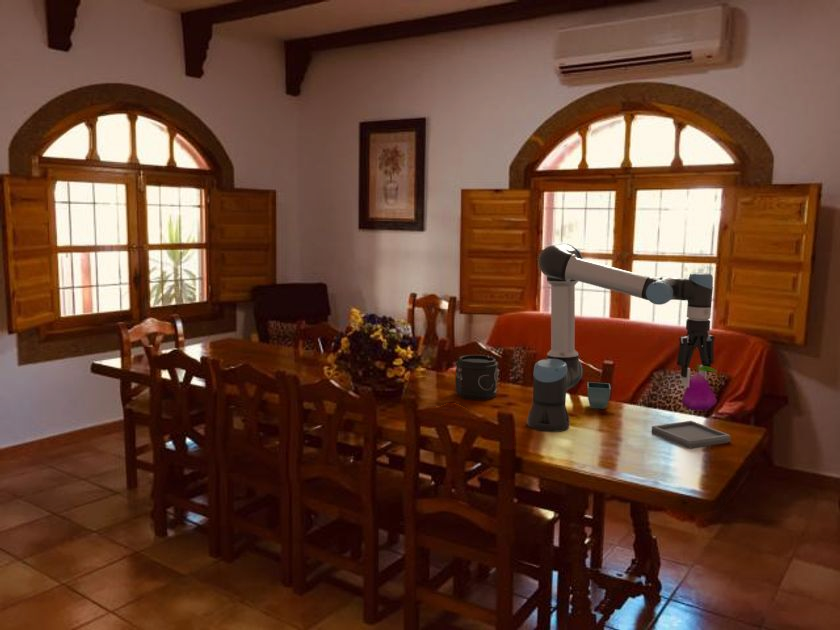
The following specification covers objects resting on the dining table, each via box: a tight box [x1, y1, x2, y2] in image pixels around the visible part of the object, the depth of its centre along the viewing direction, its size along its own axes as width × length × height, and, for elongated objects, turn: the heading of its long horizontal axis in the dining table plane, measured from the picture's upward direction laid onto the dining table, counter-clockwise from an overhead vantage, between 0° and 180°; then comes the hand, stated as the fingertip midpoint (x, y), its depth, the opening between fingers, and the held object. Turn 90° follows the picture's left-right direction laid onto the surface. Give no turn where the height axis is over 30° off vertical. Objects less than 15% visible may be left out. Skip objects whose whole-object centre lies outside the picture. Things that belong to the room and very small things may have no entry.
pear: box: [680, 363, 719, 411], centre depth 246 cm, size 11×11×15 cm
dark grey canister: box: [454, 354, 499, 401], centre depth 301 cm, size 18×18×16 cm
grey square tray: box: [651, 420, 731, 450], centre depth 249 cm, size 18×18×2 cm
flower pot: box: [586, 381, 612, 410], centre depth 285 cm, size 9×9×9 cm
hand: (693, 385), depth 246 cm, fingers open, 7 cm apart
